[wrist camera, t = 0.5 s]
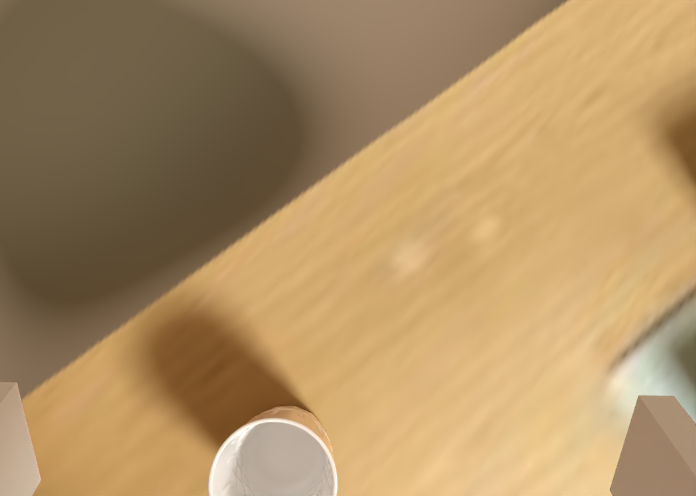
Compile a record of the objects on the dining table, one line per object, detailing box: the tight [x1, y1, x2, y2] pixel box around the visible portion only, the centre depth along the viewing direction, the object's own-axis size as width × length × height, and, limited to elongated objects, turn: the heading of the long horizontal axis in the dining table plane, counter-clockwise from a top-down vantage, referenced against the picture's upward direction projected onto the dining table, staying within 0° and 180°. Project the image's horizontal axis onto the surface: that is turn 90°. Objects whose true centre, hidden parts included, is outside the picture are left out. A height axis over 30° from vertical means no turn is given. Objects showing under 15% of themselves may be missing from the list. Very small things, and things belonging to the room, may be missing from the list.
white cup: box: [208, 406, 337, 496], centre depth 41 cm, size 8×8×10 cm
